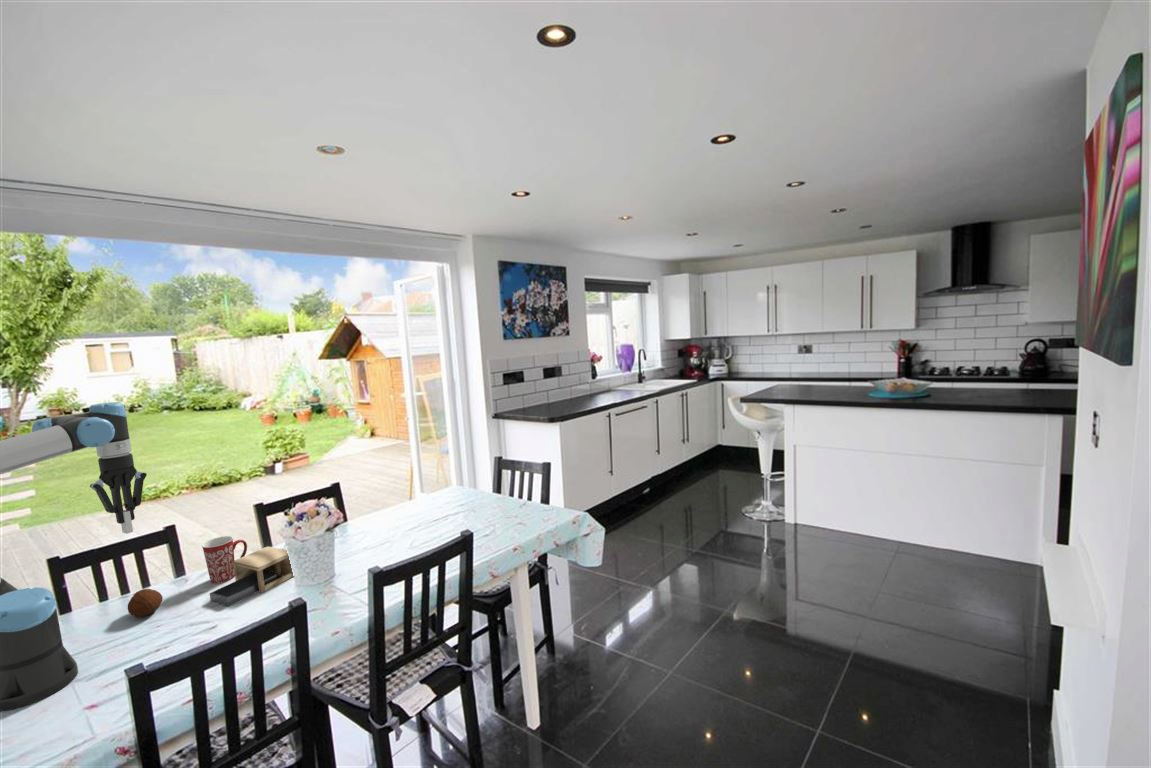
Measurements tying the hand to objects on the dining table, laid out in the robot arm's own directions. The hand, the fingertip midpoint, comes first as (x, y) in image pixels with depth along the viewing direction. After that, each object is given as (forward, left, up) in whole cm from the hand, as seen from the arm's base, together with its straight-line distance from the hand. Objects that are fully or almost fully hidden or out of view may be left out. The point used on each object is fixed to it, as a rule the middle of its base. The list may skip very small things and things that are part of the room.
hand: (127, 532), depth 152 cm
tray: (+21, -17, -27) cm, 38 cm away
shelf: (+28, -17, -26) cm, 42 cm away
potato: (+1, 0, -27) cm, 27 cm away
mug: (+25, -1, -27) cm, 37 cm away
